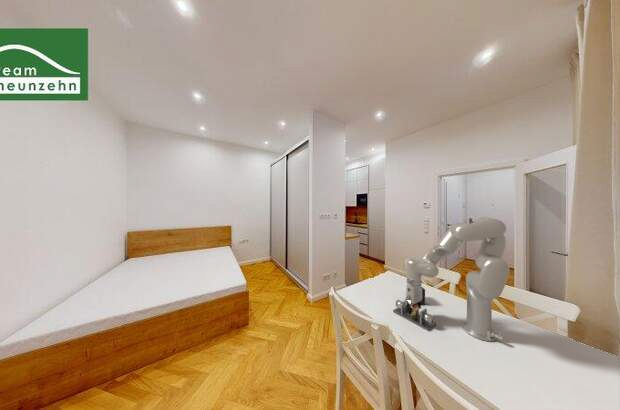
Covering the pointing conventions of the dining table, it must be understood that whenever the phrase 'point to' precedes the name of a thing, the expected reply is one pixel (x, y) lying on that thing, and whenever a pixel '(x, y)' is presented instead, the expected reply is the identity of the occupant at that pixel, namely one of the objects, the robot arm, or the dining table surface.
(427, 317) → the grey bar with knobs
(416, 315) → the valve
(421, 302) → the small box
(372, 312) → the dining table surface
